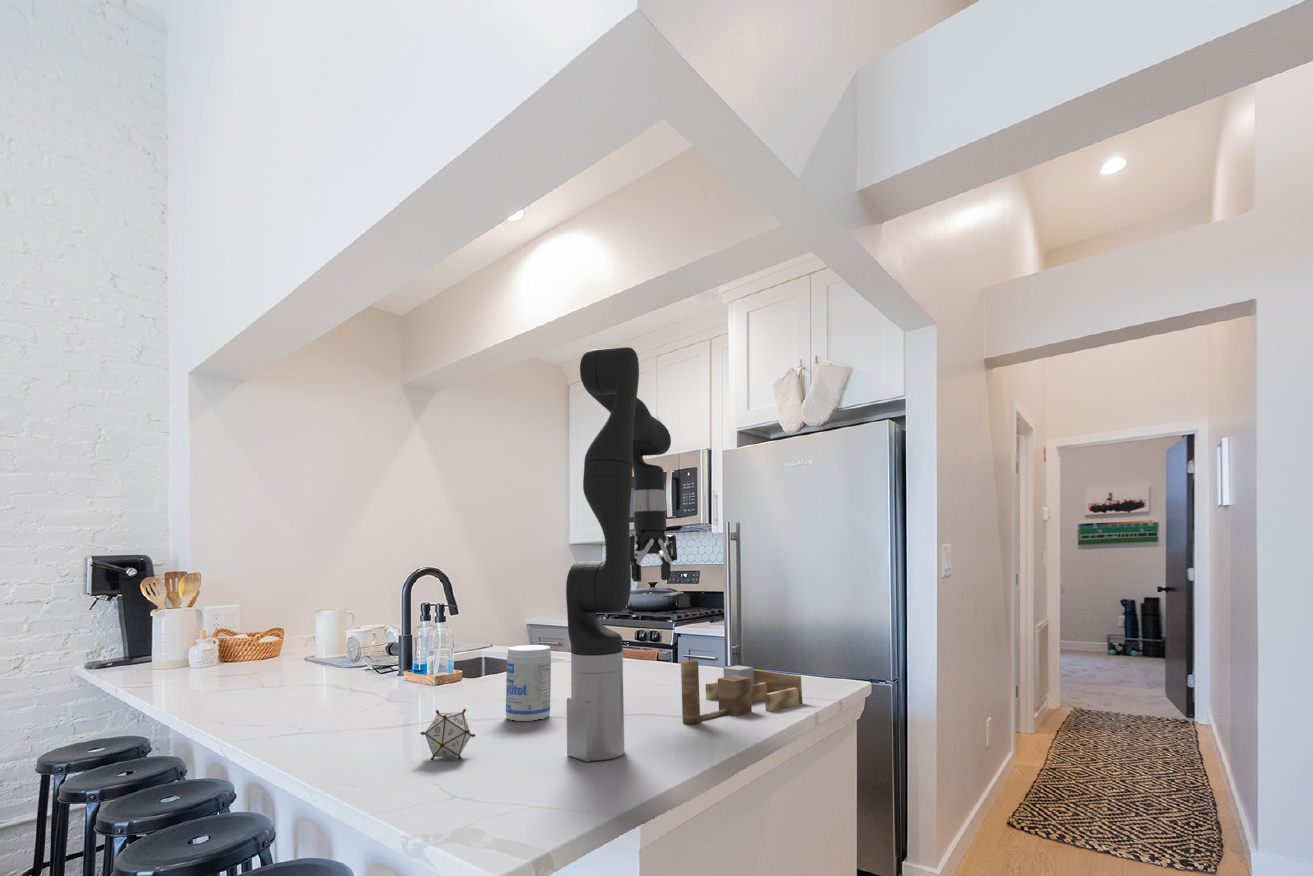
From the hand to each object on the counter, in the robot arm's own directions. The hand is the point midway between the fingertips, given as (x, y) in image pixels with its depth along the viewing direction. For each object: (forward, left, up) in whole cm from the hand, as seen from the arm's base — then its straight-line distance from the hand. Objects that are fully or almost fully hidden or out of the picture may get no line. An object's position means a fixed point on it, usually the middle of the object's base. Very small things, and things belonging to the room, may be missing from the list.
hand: (651, 580), depth 162 cm
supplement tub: (-24, +14, -28) cm, 40 cm away
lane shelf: (+21, -11, -28) cm, 37 cm away
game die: (-50, -3, -28) cm, 58 cm away
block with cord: (+4, -15, -28) cm, 32 cm away
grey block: (+21, -6, -28) cm, 36 cm away
